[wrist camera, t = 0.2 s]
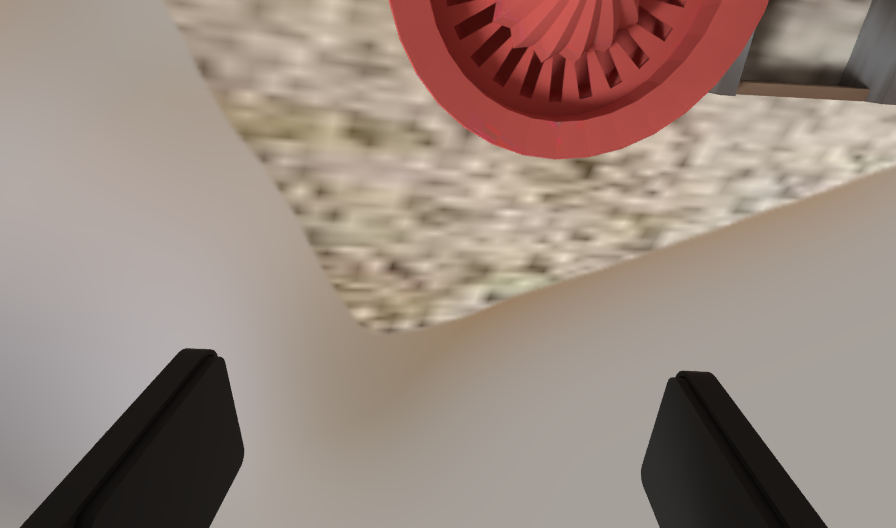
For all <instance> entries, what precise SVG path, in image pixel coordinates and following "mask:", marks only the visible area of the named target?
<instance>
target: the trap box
mask: <svg viewBox="0 0 896 528" xmlns="http://www.w3.org/2000/svg"><path fill="white" fill-rule="evenodd" d="M755 29H756V28H755ZM754 32H755V30H754ZM754 32H753V33H752V35H751V37H750V39H749V40H748V42H747V44H746V46H745V48H744V49H743V51H742V52H741V54H740V55H739V56H738V57H737V59H736V60H735V61H734V63H733V64H732V65H731V66H730V68H729V69H728V70H727V71H726V73H725V74H724V75H723V77H722V78H721V79H720V80H719V82H718V83H717V84H716V85H715V86H714V87H713V88H712V89H711V90H710V91H709V93H713V94H718V95H728V96H735V95H736V94H741V95H759V96H777V97H795V98H813V99H831V100H849V101H866V102H872V103H879V104H890V105H896V0H873V1H872V3H871V6H870V8H869V11H868V13H867V16H866V18H865V21H864V23H863V26H862V29H861V31H860V34H859V36H858V39H857V41H856V44H855V46H854V49H853V51H852V54H851V57H850V59H849V62H848V64H847V67H846V69H845V72H844V74H843V77H842V79H841V82H840V84H839V86H838V85H820V84H802V83H785V82H767V81H749V80H740V79H741V75H742V72H743V69H744V65H745V62H746V59H747V56H748V52H749V49H750V46H751V42H752V39H753V36H754Z"/></svg>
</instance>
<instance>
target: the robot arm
mask: <svg viewBox="0 0 896 528" xmlns="http://www.w3.org/2000/svg"><path fill="white" fill-rule="evenodd" d="M243 458H244V446H243V441H242V436H241V432H240V427H239V423H238V418H237V414H236V410H235V405H234V400H233V396H232V391H231V386H230V382H229V377H228V373H227V368H226V364H225V361H224V359H223V358H222V357H218V356H217V353H216V352H215V351H214V350H211V349H191V348H190V349H189V348H186V349H183V350H181V351H180V352H179V353H178V354H177V355H176V356H175V357H174V358H173V359H172V360H171V362H170V363H169V364H168V365H167V366H166V367H165V368H164V369H163V370H162V372H161V373H160V374H159V375H158V376H157V377H156V378H155V379H154V380H153V381H152V382H151V384H150V385H149V386H148V387H147V388H146V389H145V390H144V391H143V393H142V394H141V395H140V396H139V397H138V398H137V399H136V400H135V401H134V402H133V403H132V405H131V406H130V407H129V408H128V409H127V410H126V411H125V412H124V413H123V414H122V416H121V417H120V418H119V419H118V420H117V421H116V422H115V423H114V424H113V425H112V427H111V428H110V429H109V430H108V431H107V432H106V433H105V434H104V435H103V437H102V438H101V439H100V440H99V441H98V442H97V443H96V444H95V445H94V447H93V448H92V449H91V450H90V451H89V452H88V453H87V454H86V455H85V456H84V457H83V459H82V460H81V461H80V462H79V463H78V464H77V465H76V466H75V467H74V468H73V470H72V471H71V472H70V473H69V474H68V475H67V476H66V477H65V478H64V480H63V481H62V482H61V483H60V484H59V485H58V486H57V487H56V488H55V489H54V491H53V492H52V493H51V494H50V495H49V496H48V497H47V498H46V499H45V501H44V502H43V503H42V504H41V505H40V506H39V507H38V508H37V509H36V510H35V511H34V513H33V514H32V515H31V516H30V517H29V518H28V519H27V520H26V521H25V522H24V524H23V525H22V526H21V527H20V528H209V527H210V525H211V523H212V521H213V519H214V517H215V515H216V513H217V511H218V509H219V507H220V505H221V504H222V502H223V500H224V498H225V496H226V494H227V492H228V490H229V488H230V486H231V485H232V483H233V480H234V479H235V477H236V475H237V473H238V471H239V469H240V467H241V465H242V462H243ZM641 479H642V484H643V487H644V489H645V492H646V494H647V497H648V499H649V502H650V504H651V507H652V509H653V512H654V514H655V517H656V519H657V522H658V524H659V526H660V528H828V527H827V526H826V525H825V523H824V522H823V521H822V519H821V518H820V516H819V515H818V514H817V512H816V511H815V510H814V508H813V507H812V506H811V505H810V503H809V502H808V500H807V499H806V498H805V496H804V495H803V494H802V493H801V491H800V490H799V488H798V487H797V486H796V484H795V483H794V482H793V480H792V479H791V478H790V476H789V475H788V474H787V472H786V471H785V470H784V468H783V467H782V466H781V464H780V463H779V462H778V460H777V459H776V458H775V456H774V455H773V453H772V452H771V451H770V450H769V448H768V447H767V446H766V444H765V443H764V441H763V440H762V439H761V437H760V436H759V435H758V433H757V432H756V431H755V429H754V428H753V427H752V425H751V424H750V423H749V421H748V420H747V419H746V417H745V416H744V415H743V413H742V412H741V411H740V409H739V408H738V407H737V405H736V404H735V403H734V401H733V400H732V398H731V397H730V396H729V394H728V393H727V392H726V390H725V389H724V388H723V387H722V385H721V384H720V382H719V381H718V380H717V379H716V377H715V376H714V375H713V374H712V373H710V372H698V371H680V372H679V373H678V374H677V375H676V377H675V378H674V377H673V378H670V379H669V380H668V382H667V385H666V389H665V392H664V395H663V398H662V402H661V405H660V408H659V412H658V415H657V418H656V422H655V425H654V428H653V431H652V434H651V438H650V441H649V444H648V448H647V451H646V454H645V457H644V461H643V464H642V468H641Z"/></svg>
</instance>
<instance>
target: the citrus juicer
mask: <svg viewBox="0 0 896 528" xmlns="http://www.w3.org/2000/svg"><path fill="white" fill-rule="evenodd" d="M768 2H769V0H389V4H390V7H391V11H392V14H393V18H394V21H395V25H396V28H397V32H398V35H399V39H400V41H401V43H402V45H403V48H404V50H405V52H406V54H407V56H408V58H409V60H410V62H411V64H412V66H413V68H414V70H415V72H416V74H417V76H418V77H419V78H420V80H421V81H422V83H423V84H424V85H425V87H426V88H427V89H428V91H429V92H430V93H431V95H432V96H433V97H434V99H435V100H436V101H437V103H438V104H439V105H440V106H441V107H442V108H443V109H444V110H446V111H447V112H448V113H449V114H450V115H451V116H452V117H453V118H454V119H455V120H456V121H458V122H459V123H460V124H461V125H462V126H463V127H464V128H466V129H468V130H469V131H471V132H473V133H474V134H476V135H478V136H479V137H481V138H483V139H484V140H486V141H488V142H489V143H491V144H493V145H496V146H499V147H502V148H504V149H507V150H510V151H513V152H516V153H519V154H521V155H527V156H534V157H542V158H549V159H569V158H586V157H591V156H595V155H599V154H603V153H607V152H611V151H615V150H619V149H622V148H624V147H627V146H629V145H631V144H633V143H636V142H638V141H640V140H642V139H644V138H647V137H649V136H651V135H653V134H655V133H657V132H658V131H659V130H661V129H662V128H664V127H665V126H667V125H668V124H670V123H671V122H673V121H674V120H676V119H677V118H679V117H680V116H682V115H683V114H685V113H686V112H687V111H688V110H690V109H691V108H692V107H693V106H694V105H695V104H696V103H697V102H698V101H699V100H700V99H701V98H702V97H703V96H705V95H706V94H707V93H708V92H709V91H710V90H711V89H712V88H713V87H714V86H715V85H716V84H717V83H718V82H719V80H720V79H721V78H722V77H723V75H724V74H725V73H726V71H727V70H728V69H729V68H730V66H731V65H732V64H733V63H734V61H735V60H736V59H737V57H738V56H739V55H740V54H741V52H742V51H743V49H744V48H745V46H746V44H747V42H748V40H749V39H750V37H751V35H752V33H753V32H754V30H755V28H756V26H757V25H758V23H759V21H760V19H761V17H762V16H763V14H764V12H765V10H766V7H767V4H768Z"/></svg>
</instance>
